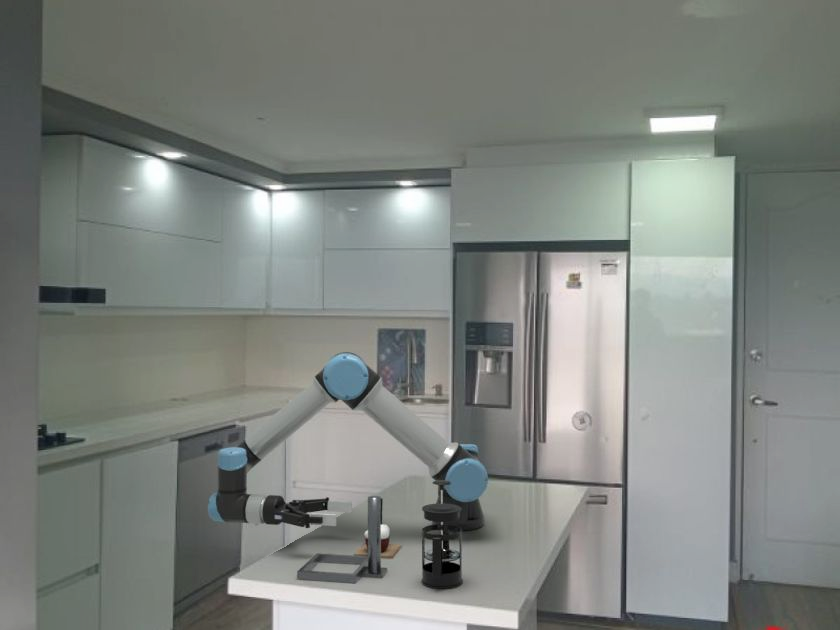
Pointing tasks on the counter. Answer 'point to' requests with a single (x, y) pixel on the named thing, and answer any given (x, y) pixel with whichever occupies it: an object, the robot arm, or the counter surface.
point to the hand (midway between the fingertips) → (344, 513)
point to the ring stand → (368, 564)
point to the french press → (441, 545)
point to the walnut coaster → (388, 553)
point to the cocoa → (384, 534)
